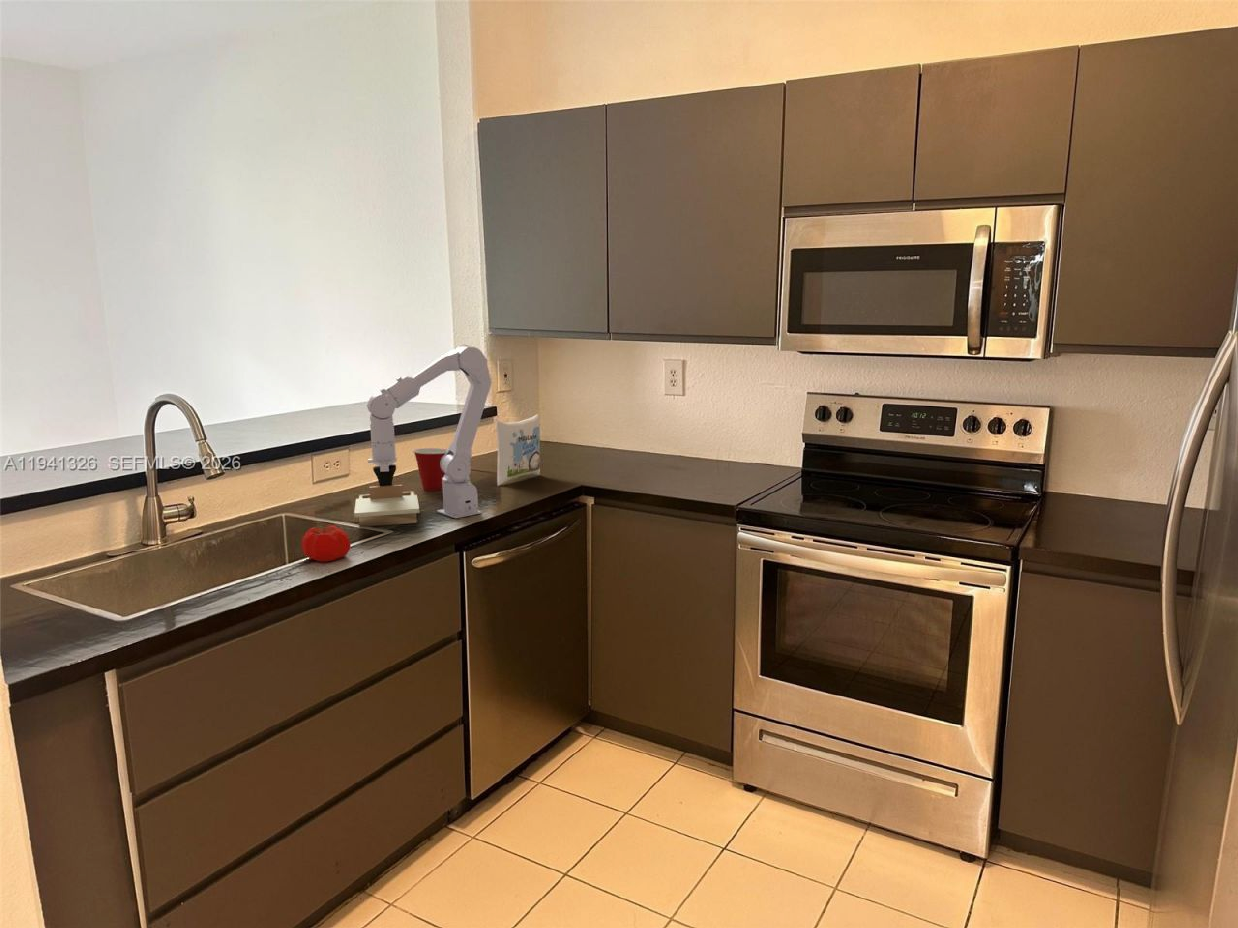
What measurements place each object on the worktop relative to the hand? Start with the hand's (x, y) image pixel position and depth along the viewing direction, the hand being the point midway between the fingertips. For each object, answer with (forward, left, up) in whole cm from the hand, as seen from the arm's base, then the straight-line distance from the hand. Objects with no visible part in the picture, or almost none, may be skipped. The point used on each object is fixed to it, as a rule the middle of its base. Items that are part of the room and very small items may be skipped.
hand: (386, 493), depth 220 cm
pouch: (+15, -52, -7) cm, 55 cm away
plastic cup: (+24, -27, -7) cm, 37 cm away
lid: (-8, +4, -2) cm, 9 cm away
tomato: (-20, +25, -7) cm, 33 cm away
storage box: (+2, -1, -7) cm, 7 cm away
